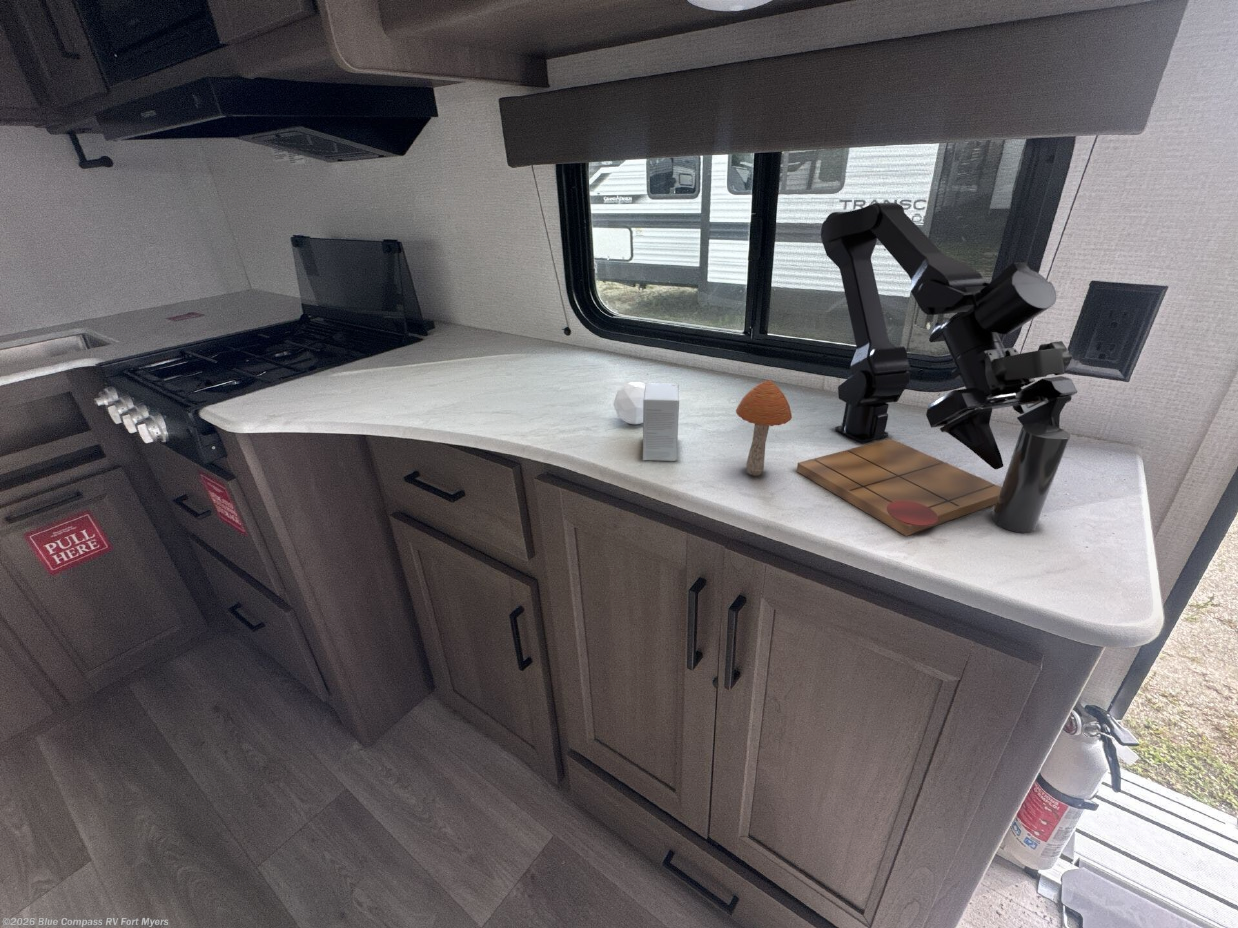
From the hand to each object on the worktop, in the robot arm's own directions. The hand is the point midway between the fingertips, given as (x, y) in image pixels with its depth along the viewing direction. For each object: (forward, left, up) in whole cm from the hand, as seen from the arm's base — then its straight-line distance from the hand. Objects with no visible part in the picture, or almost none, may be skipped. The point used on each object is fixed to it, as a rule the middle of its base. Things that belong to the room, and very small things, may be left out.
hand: (1028, 463), depth 70 cm
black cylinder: (+1, 0, -8) cm, 8 cm away
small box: (-39, -30, -8) cm, 50 cm away
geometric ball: (-52, -28, -8) cm, 60 cm away
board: (-13, -5, -8) cm, 16 cm away
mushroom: (-25, -21, -8) cm, 34 cm away
